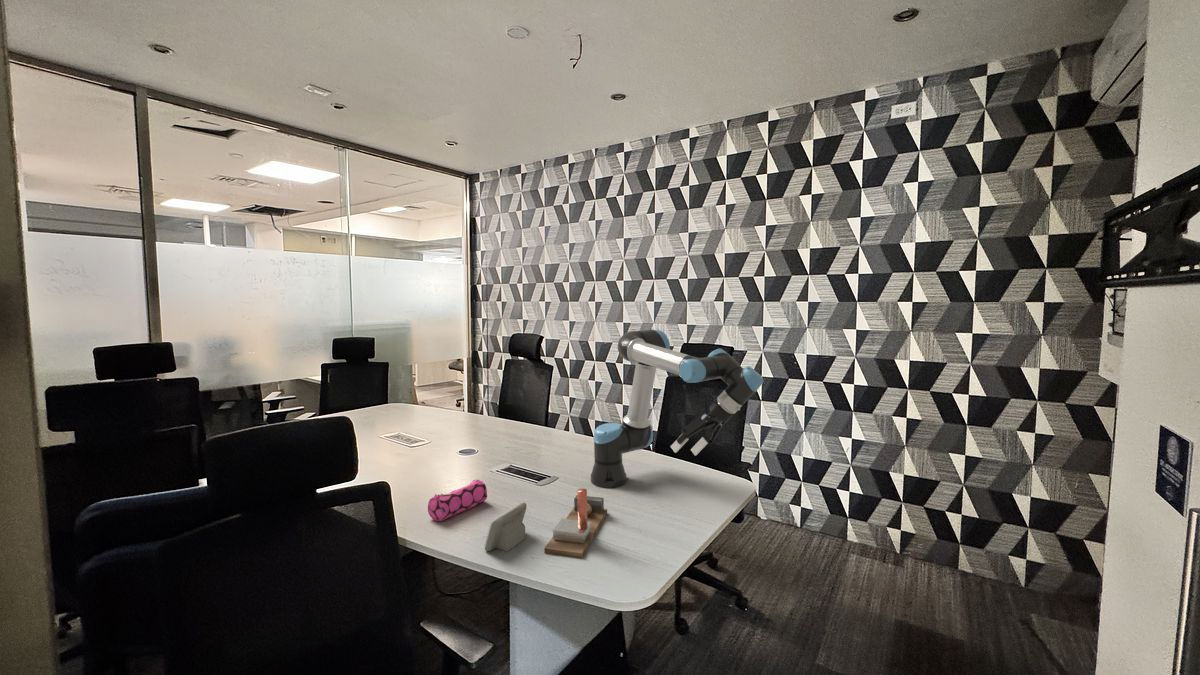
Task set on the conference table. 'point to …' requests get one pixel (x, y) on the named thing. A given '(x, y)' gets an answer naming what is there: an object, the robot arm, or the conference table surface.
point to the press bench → (575, 549)
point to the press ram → (575, 523)
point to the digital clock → (507, 529)
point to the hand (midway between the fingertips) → (683, 451)
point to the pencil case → (457, 500)
